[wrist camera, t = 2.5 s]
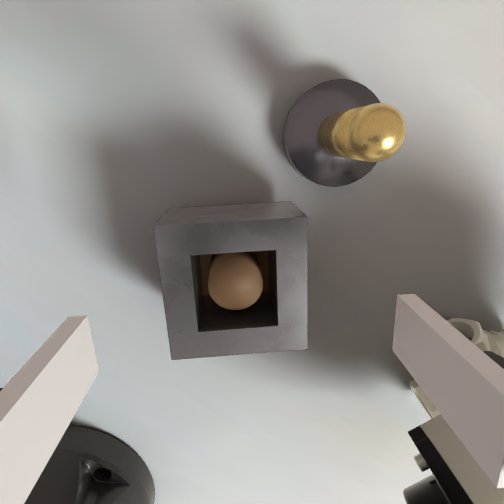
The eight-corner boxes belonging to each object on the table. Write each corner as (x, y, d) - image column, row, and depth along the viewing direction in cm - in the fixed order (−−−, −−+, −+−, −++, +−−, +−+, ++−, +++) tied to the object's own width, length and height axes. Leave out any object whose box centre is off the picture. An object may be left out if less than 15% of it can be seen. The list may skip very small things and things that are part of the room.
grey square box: (182, 318, 25) (171, 360, 20) (168, 208, 23) (153, 226, 18) (292, 310, 26) (307, 349, 21) (290, 201, 23) (307, 216, 18)
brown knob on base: (196, 296, 26) (188, 334, 21) (188, 217, 25) (177, 238, 19) (275, 290, 27) (287, 326, 21) (273, 212, 25) (286, 231, 20)
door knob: (284, 186, 24) (314, 210, 16) (282, 85, 22) (315, 51, 14) (374, 181, 25) (450, 202, 16) (380, 81, 23) (469, 46, 14)
